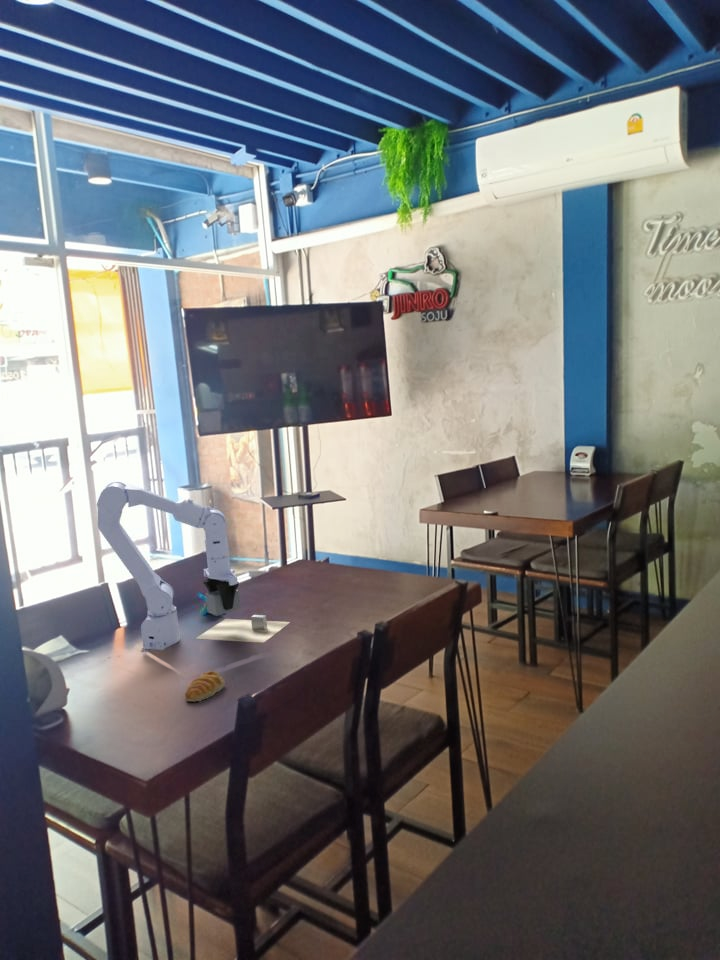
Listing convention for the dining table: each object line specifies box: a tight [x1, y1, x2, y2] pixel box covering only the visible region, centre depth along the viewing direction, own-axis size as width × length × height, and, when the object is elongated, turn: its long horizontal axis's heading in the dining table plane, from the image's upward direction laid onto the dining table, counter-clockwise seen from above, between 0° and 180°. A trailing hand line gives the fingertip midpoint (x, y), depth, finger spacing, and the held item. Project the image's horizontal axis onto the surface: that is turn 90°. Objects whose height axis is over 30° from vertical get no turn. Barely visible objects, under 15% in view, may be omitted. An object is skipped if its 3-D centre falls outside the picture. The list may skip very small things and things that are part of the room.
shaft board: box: [195, 618, 291, 644], centre depth 194 cm, size 15×20×1 cm
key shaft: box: [250, 614, 268, 630], centre depth 194 cm, size 2×4×4 cm, turn 69°
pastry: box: [184, 670, 226, 702], centre depth 158 cm, size 9×7×4 cm
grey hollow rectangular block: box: [205, 589, 241, 617], centre depth 192 cm, size 5×7×5 cm
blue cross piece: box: [196, 592, 208, 617], centre depth 211 cm, size 11×6×10 cm
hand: (223, 606), depth 193 cm, fingers closed on grey hollow rectangular block, 5 cm apart
